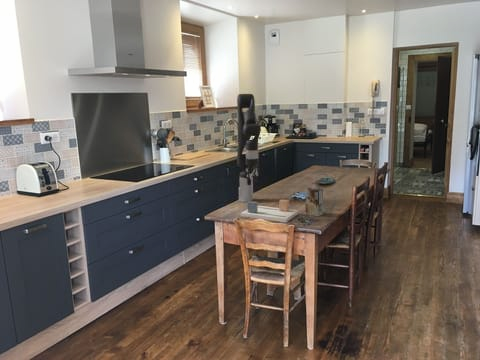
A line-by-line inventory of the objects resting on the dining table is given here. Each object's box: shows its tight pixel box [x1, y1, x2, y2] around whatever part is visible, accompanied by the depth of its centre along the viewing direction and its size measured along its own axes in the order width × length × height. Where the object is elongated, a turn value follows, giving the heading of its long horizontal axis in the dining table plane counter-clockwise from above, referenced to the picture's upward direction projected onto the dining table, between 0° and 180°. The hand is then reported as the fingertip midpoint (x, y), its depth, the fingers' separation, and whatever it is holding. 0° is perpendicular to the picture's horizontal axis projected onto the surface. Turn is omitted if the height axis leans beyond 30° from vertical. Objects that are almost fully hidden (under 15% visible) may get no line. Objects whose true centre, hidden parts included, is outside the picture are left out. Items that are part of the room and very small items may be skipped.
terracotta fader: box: [278, 199, 290, 211], centre depth 256 cm, size 5×4×6 cm
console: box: [240, 205, 300, 223], centre depth 255 cm, size 30×20×2 cm
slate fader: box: [247, 200, 259, 213], centre depth 253 cm, size 5×4×6 cm
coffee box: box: [305, 187, 324, 217], centre depth 253 cm, size 9×6×16 cm
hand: (252, 183), depth 251 cm, fingers open, 8 cm apart
